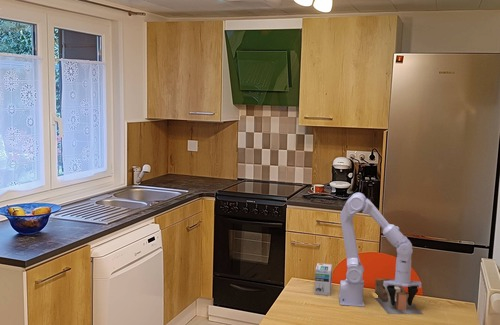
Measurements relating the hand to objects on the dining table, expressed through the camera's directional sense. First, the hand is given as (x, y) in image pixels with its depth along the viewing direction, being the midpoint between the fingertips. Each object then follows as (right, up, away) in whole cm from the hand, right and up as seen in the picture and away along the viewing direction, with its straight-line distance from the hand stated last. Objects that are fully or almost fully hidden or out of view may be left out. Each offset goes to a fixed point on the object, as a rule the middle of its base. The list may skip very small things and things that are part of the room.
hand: (401, 304), depth 211 cm
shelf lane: (0, -1, +7) cm, 7 cm away
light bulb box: (-28, +1, +18) cm, 34 cm away
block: (0, -1, +6) cm, 6 cm away
